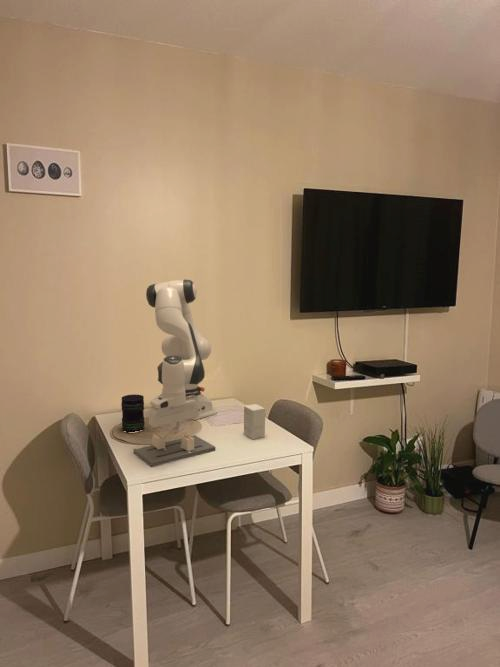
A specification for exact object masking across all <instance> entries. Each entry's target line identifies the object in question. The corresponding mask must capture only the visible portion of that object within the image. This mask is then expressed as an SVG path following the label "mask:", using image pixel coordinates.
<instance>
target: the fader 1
mask: <svg viewBox="0 0 500 667" xmlns="http://www.w3.org/2000/svg"><path fill="white" fill-rule="evenodd" d="M165 442H166V436H165V435H162V434H161V433H155V434H152V445H153V446H154V447H155V448H157V449H158V450H159V449H163V448H165Z"/></svg>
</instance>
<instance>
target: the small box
mask: <svg viewBox="0 0 500 667" xmlns="http://www.w3.org/2000/svg"><path fill="white" fill-rule="evenodd" d="M265 432H266V408H264V407H263V406H261V405H259V404H256V403H253V404H248V405H247V404H246V405H244V406H243V435H245V436H246V437H248V438H250V439H251V440H257V439H258V440H259V439H263V438H265V437H266V433H265Z"/></svg>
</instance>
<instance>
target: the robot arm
mask: <svg viewBox="0 0 500 667" xmlns="http://www.w3.org/2000/svg"><path fill="white" fill-rule="evenodd" d="M196 297H197V287H196V285H195V283H194V281H192V280H191V279H183V280H182V279H177V280H176V279H174V280H168V281H164V282H160V283H152V284H150V285H149V286H148V287H147V288H146V293H145V298H146V301H147V303H148V305H149V306H150V307H152V308H154V311H155V312H154V314H155V316H154V317H155V323H156V326H157V327H158V329H160V330H161V331H162V332H163V333H165V334H167V335H169V336H166V337H165V338H164V339H163V340H162V342H161V348H160V349H161V352H162V354H163V355H164V356H165V357H164V358H163V360H162V362H160V363H159V364H158V366H157V375H158V377H157V381H158V382H159V384H161V385H162V389H161V390H162V391H161V394H158V396H155V397H153V398H152V399H151V400H150V401H149V402H150V403H149V405H150V406H151V407H150V408H149V410H148V424H149V425H150V426H151V427H152V428H159V427H163V426H167V427H168V428H169V430H170V432H169V433H170V434H172V435H175V434H178V433H180V428H181V425H182V423H183V421H189V420H193V421H197V420H200V419H203V418H207V417H210V416H213V415H216V414H218V411H217V409H216V408H214V407H213V404H212V403H213V402H212V400H211V399H209V397H207V396H205V395H204V394H203V393H202V392H205V390H206V389H205V387H203V386H198V385H199V384H200V383H202V382H203V380H204V379H205V376H206V370H205V366H204V364H203V361H204V360H207V359H208V358H209V357H210V355H211V354H212V346H211V343H210V341H209V340H207V339H206V338H205V337H203V335H202V334H200V332H199V331H198V330H197V327H196V326H195V323H194V319H193V317H192V313H191V312H192V311H191V307H190V304H191V303H193V302H194V301H195V300H196V299H197V298H196ZM170 335H171V336H170ZM175 423H176V425H175V427H173V426H174V424H175Z"/></svg>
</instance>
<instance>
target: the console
mask: <svg viewBox="0 0 500 667" xmlns="http://www.w3.org/2000/svg"><path fill="white" fill-rule="evenodd" d="M191 437H192V438H194V450H191V451H186V450H185V449H183V448H182V447H181V438H178V439H174V440H169V441H165V448H163V449H159V450H158V449H157V448H155V447H154V446H153V444H152V445H147V446H144V447H143V446H142V447H140V448H139V447H138V448H134V449H133V454H134V455H135V456H137V457H138V458H140V459H141V460H142V461H143V462H145V463H146V464H147V465H148V466H150V467H152V468H153V467H157V466H160V465H164V464H168V463H172V462H176V461H179V460H185V459H188V458H191V457H195V456H199V455H203V454H206V453H210V452H215V451H216V446H215V445H213V444H212V443H210V442H208V441H206V440H205V439H202V438H201V437H199V436H197V435H191Z"/></svg>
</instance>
